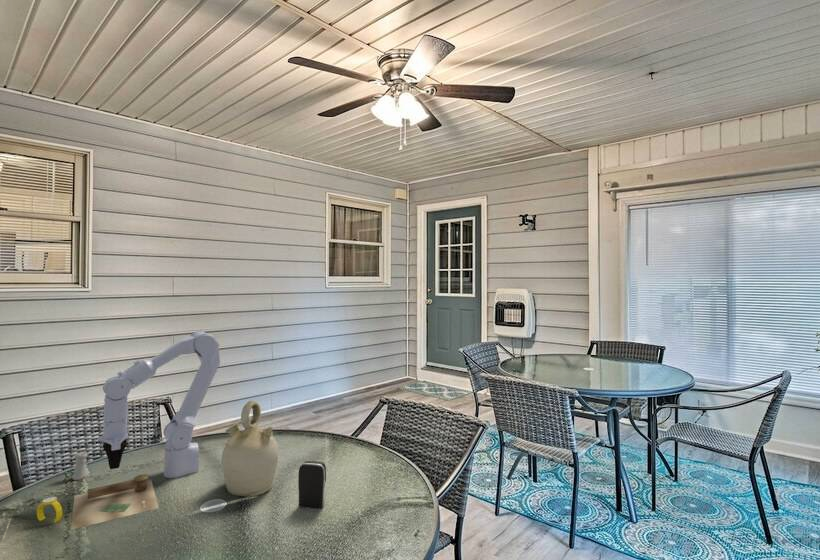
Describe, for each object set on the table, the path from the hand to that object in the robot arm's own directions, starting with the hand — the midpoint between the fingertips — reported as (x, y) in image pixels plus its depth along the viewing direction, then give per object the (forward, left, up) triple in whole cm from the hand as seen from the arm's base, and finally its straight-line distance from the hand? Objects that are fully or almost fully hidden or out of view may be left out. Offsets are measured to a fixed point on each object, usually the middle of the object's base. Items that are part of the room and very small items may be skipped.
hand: (114, 467), depth 125 cm
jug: (-32, +20, -7) cm, 38 cm away
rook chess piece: (+8, -13, -7) cm, 17 cm away
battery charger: (-43, +39, -7) cm, 58 cm away
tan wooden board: (0, +10, -6) cm, 12 cm away
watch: (+13, +12, -7) cm, 19 cm away
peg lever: (-1, +6, -5) cm, 8 cm away
